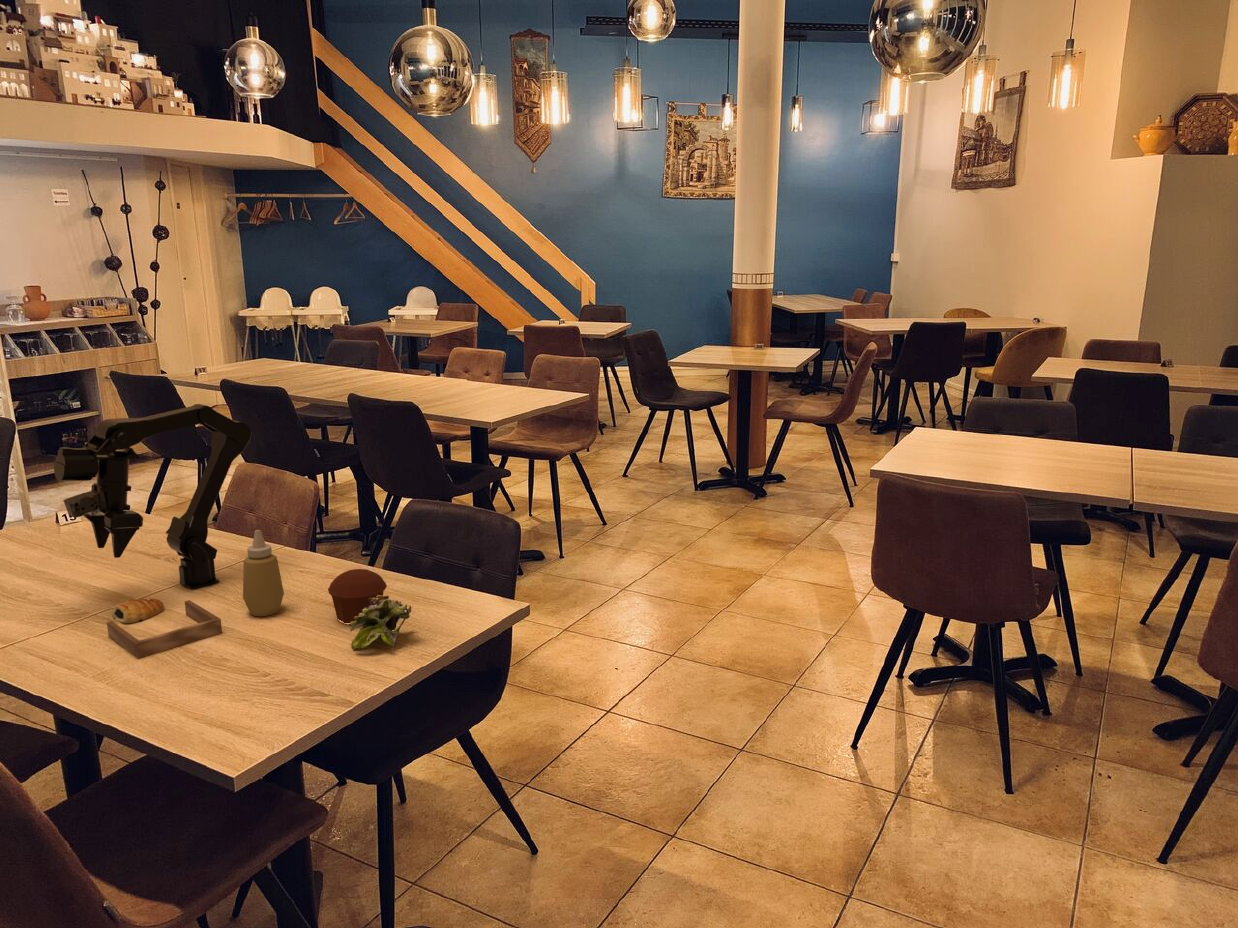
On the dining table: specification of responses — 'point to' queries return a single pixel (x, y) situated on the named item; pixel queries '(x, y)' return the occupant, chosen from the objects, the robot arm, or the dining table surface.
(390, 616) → the green leafy plant
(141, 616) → the pastry
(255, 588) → the squeeze bottle
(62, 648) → the dining table surface
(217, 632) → the box
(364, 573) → the muffin
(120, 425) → the robot arm
